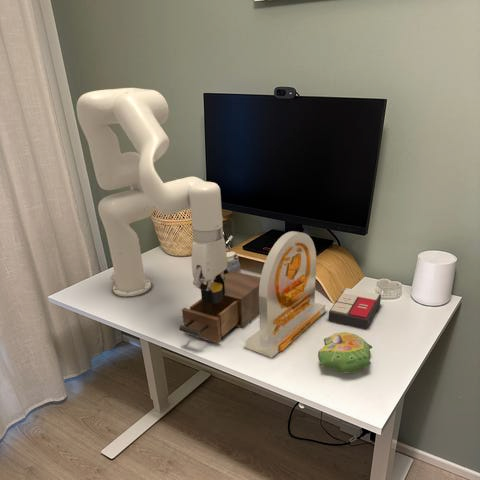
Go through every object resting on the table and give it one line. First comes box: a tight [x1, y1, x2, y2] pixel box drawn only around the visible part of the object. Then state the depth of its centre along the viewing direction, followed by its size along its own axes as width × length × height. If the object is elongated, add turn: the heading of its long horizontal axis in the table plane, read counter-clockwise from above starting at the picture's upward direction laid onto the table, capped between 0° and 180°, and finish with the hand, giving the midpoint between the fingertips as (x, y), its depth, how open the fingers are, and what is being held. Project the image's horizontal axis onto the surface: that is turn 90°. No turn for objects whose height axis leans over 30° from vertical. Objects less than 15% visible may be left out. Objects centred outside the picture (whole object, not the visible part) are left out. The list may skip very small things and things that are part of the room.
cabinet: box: [223, 271, 261, 328], centre depth 134 cm, size 15×13×9 cm
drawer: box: [178, 297, 240, 344], centre depth 124 cm, size 18×11×7 cm, turn 148°
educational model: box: [317, 331, 373, 374], centre depth 111 cm, size 13×16×5 cm
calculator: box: [328, 287, 382, 330], centre depth 131 cm, size 11×4×15 cm
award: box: [244, 230, 326, 359], centre depth 119 cm, size 28×9×28 cm, turn 143°
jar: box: [205, 282, 223, 304], centre depth 122 cm, size 5×5×4 cm
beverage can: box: [225, 251, 242, 275], centre depth 147 cm, size 6×7×12 cm
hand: (213, 297), depth 123 cm, fingers closed on jar, 5 cm apart
